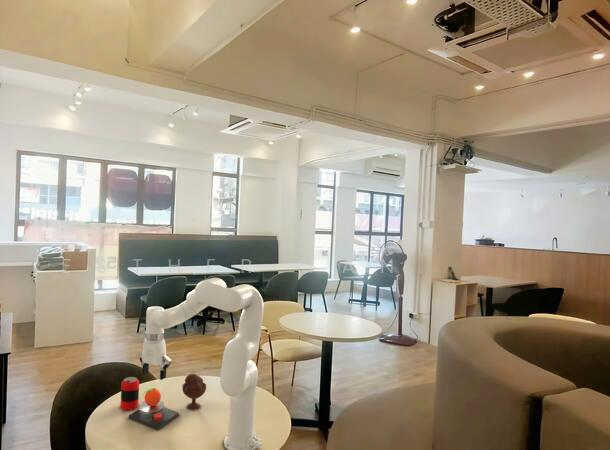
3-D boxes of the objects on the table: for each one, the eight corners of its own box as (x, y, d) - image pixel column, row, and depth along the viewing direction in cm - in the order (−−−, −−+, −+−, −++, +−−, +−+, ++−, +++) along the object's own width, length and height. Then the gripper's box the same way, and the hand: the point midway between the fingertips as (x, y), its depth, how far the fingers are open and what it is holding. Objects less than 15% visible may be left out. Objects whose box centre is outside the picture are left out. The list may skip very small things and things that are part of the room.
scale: (179, 415, 157) (179, 408, 157) (158, 431, 145) (158, 423, 145) (150, 405, 165) (150, 398, 165) (127, 419, 153) (128, 411, 153)
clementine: (142, 410, 153) (143, 393, 153) (140, 402, 159) (141, 386, 159) (162, 407, 156) (162, 391, 156) (159, 400, 162) (159, 384, 162)
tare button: (163, 418, 150) (163, 414, 150) (158, 421, 147) (158, 418, 147) (157, 416, 151) (157, 412, 151) (152, 419, 149) (152, 415, 149)
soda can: (117, 409, 160) (118, 381, 160) (126, 401, 168) (127, 375, 168) (132, 412, 159) (133, 384, 158) (141, 403, 166) (142, 377, 166)
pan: (169, 405, 160) (169, 403, 160) (152, 416, 150) (152, 414, 150) (150, 398, 165) (150, 396, 165) (132, 409, 155) (132, 407, 155)
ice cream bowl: (201, 414, 159) (203, 380, 159) (177, 410, 161) (178, 376, 161) (208, 402, 169) (210, 370, 169) (185, 399, 172) (187, 367, 171)
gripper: (133, 335, 158) (132, 375, 158) (165, 342, 150) (164, 384, 150) (145, 330, 164) (144, 369, 164) (176, 337, 156) (175, 377, 156)
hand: (154, 376), depth 157 cm, fingers open, 9 cm apart
